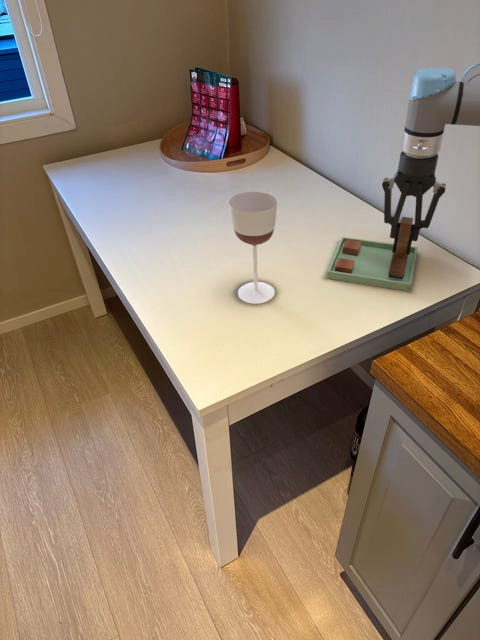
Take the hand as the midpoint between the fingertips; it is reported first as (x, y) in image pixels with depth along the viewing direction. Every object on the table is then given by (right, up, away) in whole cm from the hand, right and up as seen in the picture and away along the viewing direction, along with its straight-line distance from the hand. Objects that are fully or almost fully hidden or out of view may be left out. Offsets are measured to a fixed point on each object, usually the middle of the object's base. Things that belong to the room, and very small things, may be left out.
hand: (401, 250), depth 115 cm
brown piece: (0, -3, +2) cm, 4 cm away
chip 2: (-13, -4, +3) cm, 14 cm away
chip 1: (-10, +1, +10) cm, 14 cm away
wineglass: (-34, -10, -1) cm, 36 cm away
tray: (-5, -3, +5) cm, 8 cm away
